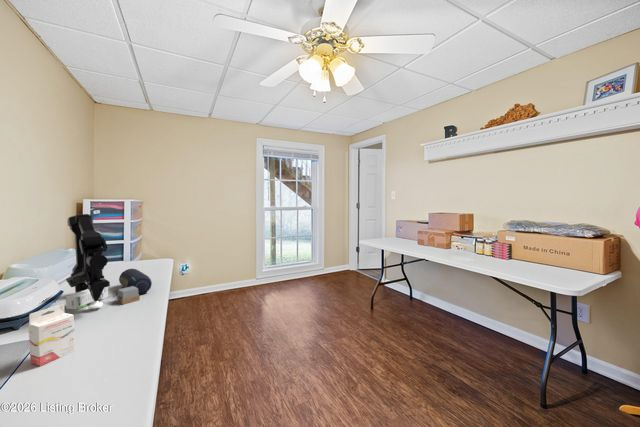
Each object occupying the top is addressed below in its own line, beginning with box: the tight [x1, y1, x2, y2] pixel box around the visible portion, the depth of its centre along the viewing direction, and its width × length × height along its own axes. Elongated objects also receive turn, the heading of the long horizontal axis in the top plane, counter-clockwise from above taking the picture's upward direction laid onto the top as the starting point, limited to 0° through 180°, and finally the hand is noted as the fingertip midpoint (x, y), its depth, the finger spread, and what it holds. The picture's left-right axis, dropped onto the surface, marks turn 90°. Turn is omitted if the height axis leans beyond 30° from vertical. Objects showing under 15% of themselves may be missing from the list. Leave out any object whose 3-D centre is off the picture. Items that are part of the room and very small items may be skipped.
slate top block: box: [117, 286, 140, 299], centre depth 121 cm, size 6×6×3 cm
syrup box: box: [65, 287, 109, 310], centre depth 119 cm, size 6×6×14 cm
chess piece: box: [87, 298, 104, 310], centre depth 111 cm, size 5×5×10 cm
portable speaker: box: [118, 268, 153, 296], centre depth 135 cm, size 25×10×10 cm, turn 49°
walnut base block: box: [117, 295, 141, 306], centre depth 121 cm, size 7×7×3 cm
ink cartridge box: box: [28, 303, 76, 367], centre depth 78 cm, size 9×5×15 cm, turn 160°
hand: (95, 300), depth 111 cm, fingers closed on chess piece
